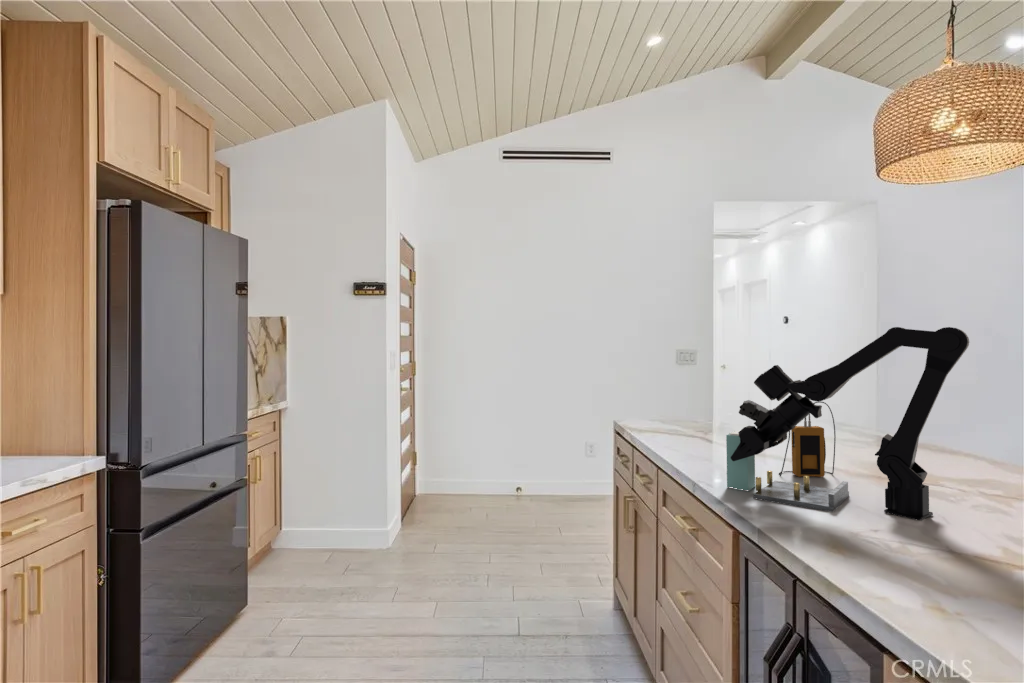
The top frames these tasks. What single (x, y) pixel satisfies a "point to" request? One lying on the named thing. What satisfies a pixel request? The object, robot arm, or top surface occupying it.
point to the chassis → (802, 493)
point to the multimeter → (808, 450)
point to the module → (739, 466)
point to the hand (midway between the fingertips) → (738, 456)
